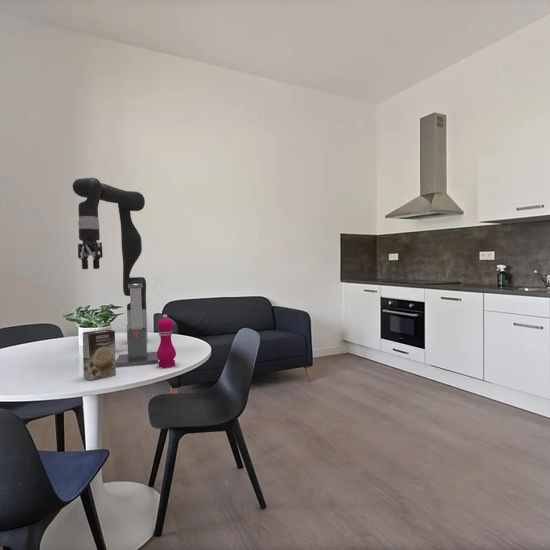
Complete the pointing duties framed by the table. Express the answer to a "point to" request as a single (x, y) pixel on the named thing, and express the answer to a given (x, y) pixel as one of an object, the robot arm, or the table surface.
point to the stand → (137, 350)
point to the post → (136, 306)
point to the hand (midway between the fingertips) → (90, 269)
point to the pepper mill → (165, 343)
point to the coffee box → (99, 354)
